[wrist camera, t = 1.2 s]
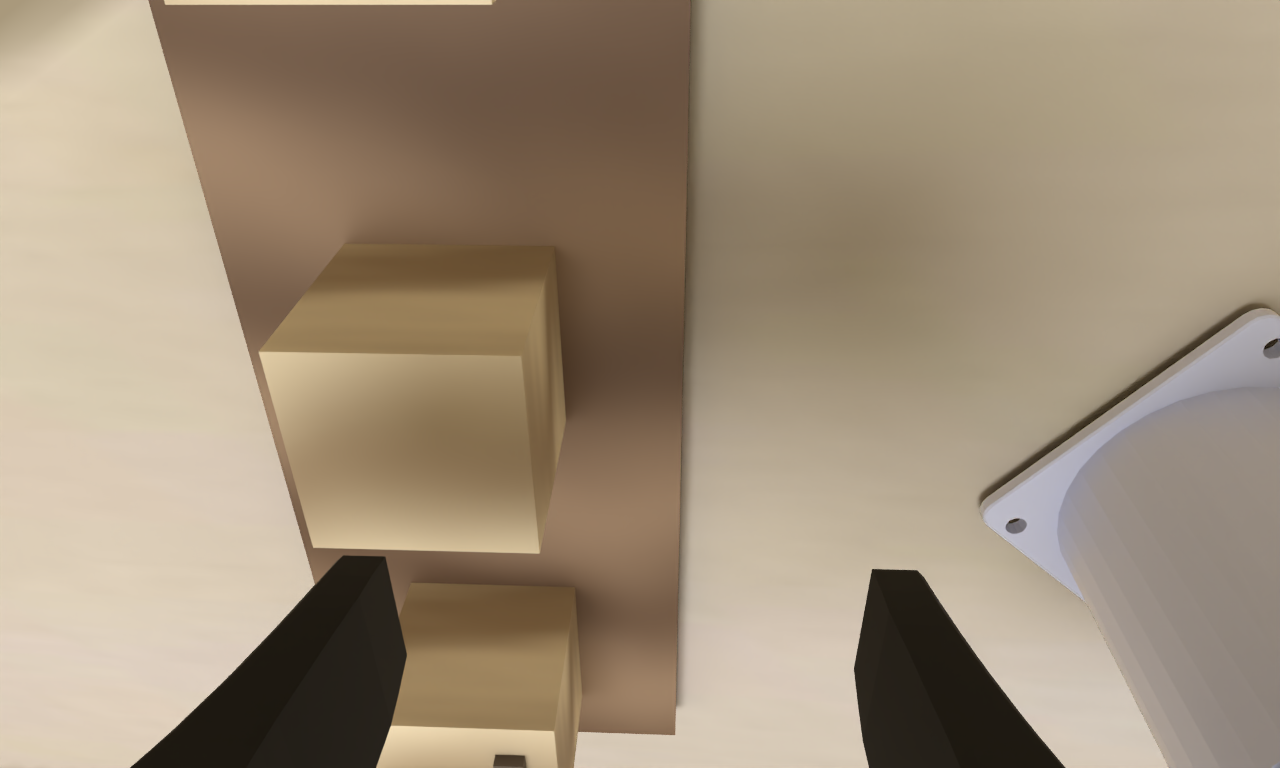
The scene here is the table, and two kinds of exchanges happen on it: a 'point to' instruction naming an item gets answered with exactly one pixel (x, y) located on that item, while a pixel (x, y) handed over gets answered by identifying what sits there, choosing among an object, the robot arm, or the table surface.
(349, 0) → the block one
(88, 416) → the table surface
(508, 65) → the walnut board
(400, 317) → the plain block
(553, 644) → the block seven
